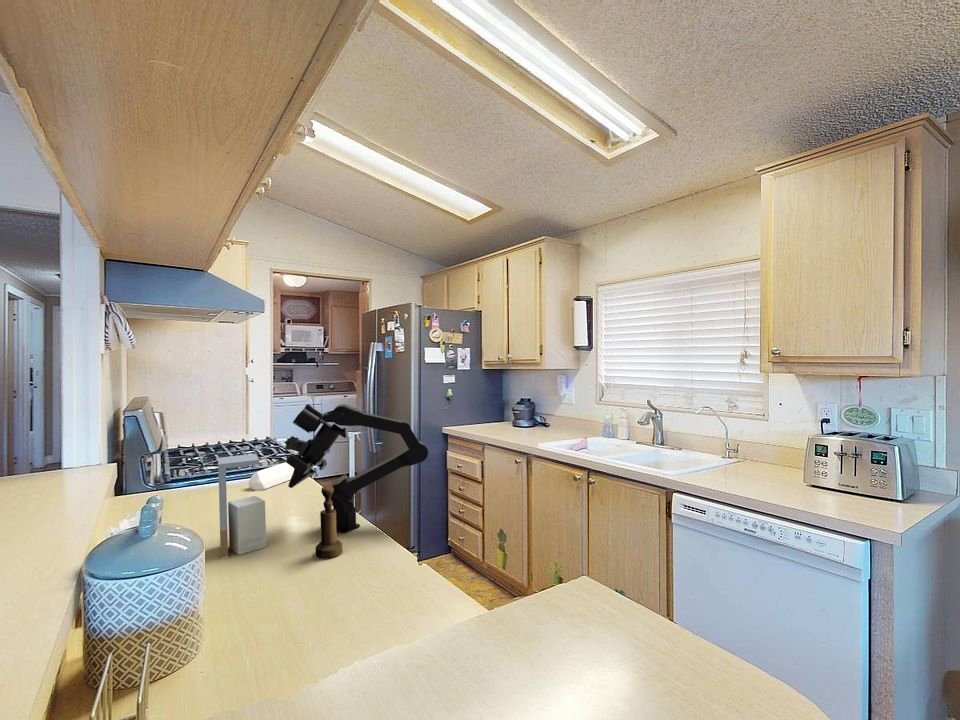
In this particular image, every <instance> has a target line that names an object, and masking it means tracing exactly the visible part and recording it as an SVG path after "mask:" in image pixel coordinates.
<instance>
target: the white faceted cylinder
mask: <svg viewBox="0 0 960 720" xmlns="http://www.w3.org/2000/svg"><path fill="white" fill-rule="evenodd" d="M293 472H294V468H293V467H292V466H290V465H289V464H287V463H286V462H285V461H284V462H283V463H279V464H276V465H273V466H269V467H267V468H264V469H260V470H259V471H258V470H257V471H255V472H254V473H253V474H252V475H251V476H250V479H249V480H248V486H249V489H251V490H252V489H253V490H252V491H257V490H258V491H263V490H266V489H269V488H272V487H274V486H277V485H280V484H282V483H284V482H289V481H290V480H291V477H292V474H293Z"/></svg>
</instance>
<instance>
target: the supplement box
mask: <svg viewBox="0 0 960 720" xmlns="http://www.w3.org/2000/svg"><path fill="white" fill-rule="evenodd" d="M227 519H228V549H231V550H232V551H233V552H234V553H236V554H237V555H242V554H245V553H246V552H247V553H250V552H253V551H256V550H260V549H263V548H266V547H267V525H266V523H267V522H266V501H265V500H264V499H262V498H260V497H258V496H256V495H253V496H249V497H244V498H240V499H235V500H231V501H228V502H227Z"/></svg>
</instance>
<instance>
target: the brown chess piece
mask: <svg viewBox="0 0 960 720" xmlns="http://www.w3.org/2000/svg"><path fill="white" fill-rule="evenodd" d="M333 491H334V488H333V486H332V485H331V484H328V483H327V484H325V485H322V488H321V491H320V492H321V494H322V496H323V497H324V501H323V507H324V509H322V510H320V513H319V518H320V542H318V544H317V545H316V546H315V557H316V558H317V557H318V558H317V559H321V558H324V559H326V558H328V559H332V558H336V557H338V555H339V556H341V555H342V553H343V542H342V541H340V540H339V539H337V537H338V536H337V531H336V510H334V509H333V505H332V503H333V502H332V501H331V496H332V494H333ZM324 559H323V560H324Z"/></svg>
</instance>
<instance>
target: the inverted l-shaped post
mask: <svg viewBox="0 0 960 720" xmlns="http://www.w3.org/2000/svg"><path fill="white" fill-rule="evenodd" d="M257 465H260V459H259V457H258V455H257V453H252V454H251V453H250V454H249V453H248V454H239V455H231V456H224V457H223V456H221V457H218V458H217V466H218V469H217V470H218V471H217V473H218V501H219V503H218V504H219V534H220V535H219V536H220V537H219V538H220V539H219V541H220V542H219V546H220V558H221V557H226V556H228V557H229V532H228V502H227V501H228V498H227V469H231V468H239V467H247V466H257ZM226 558H227V557H226Z"/></svg>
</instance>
